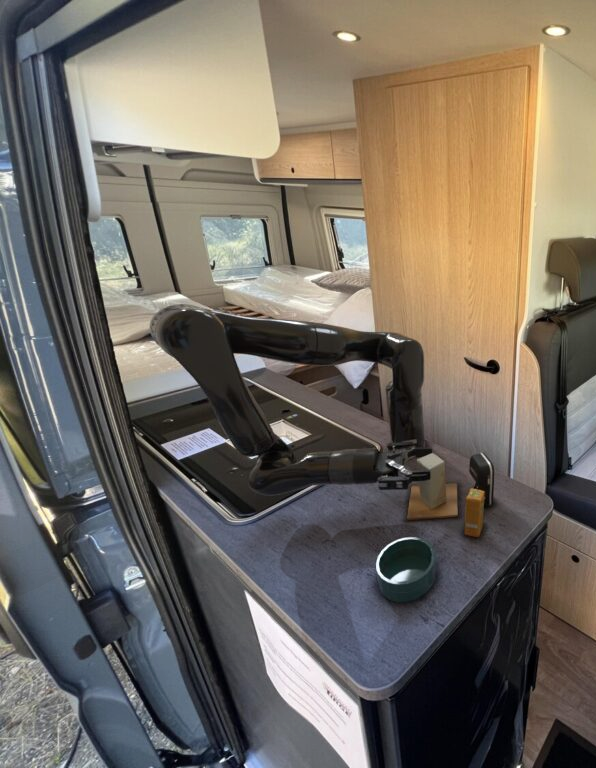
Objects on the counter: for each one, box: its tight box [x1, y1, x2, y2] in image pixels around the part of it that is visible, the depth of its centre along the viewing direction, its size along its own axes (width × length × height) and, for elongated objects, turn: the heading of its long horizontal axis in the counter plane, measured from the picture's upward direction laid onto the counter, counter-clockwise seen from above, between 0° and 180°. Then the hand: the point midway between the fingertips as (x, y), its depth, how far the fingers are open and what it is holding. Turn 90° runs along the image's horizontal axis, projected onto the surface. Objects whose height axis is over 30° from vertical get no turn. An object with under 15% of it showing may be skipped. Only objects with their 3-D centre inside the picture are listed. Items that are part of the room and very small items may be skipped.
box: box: [416, 452, 447, 509], centre depth 88 cm, size 5×4×11 cm
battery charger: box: [468, 452, 495, 507], centre depth 90 cm, size 7×4×11 cm, turn 28°
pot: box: [375, 536, 437, 603], centre depth 71 cm, size 10×10×4 cm
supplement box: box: [464, 487, 485, 538], centre depth 81 cm, size 3×3×10 cm
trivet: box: [406, 482, 459, 521], centre depth 91 cm, size 11×11×1 cm
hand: (431, 462), depth 86 cm, fingers open, 8 cm apart
